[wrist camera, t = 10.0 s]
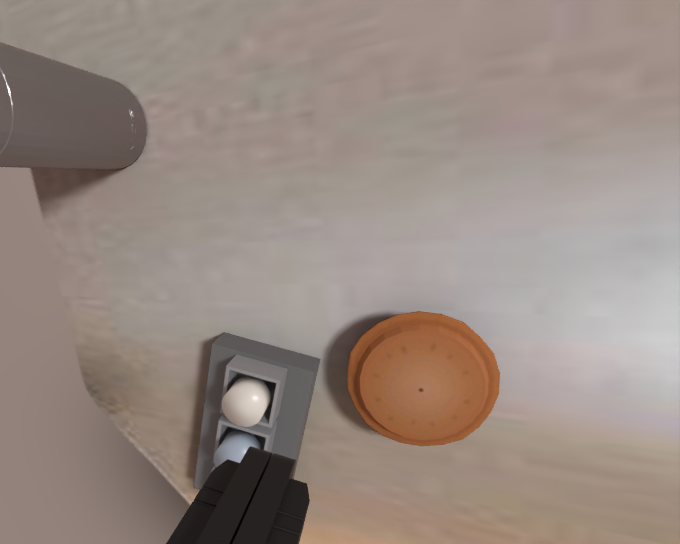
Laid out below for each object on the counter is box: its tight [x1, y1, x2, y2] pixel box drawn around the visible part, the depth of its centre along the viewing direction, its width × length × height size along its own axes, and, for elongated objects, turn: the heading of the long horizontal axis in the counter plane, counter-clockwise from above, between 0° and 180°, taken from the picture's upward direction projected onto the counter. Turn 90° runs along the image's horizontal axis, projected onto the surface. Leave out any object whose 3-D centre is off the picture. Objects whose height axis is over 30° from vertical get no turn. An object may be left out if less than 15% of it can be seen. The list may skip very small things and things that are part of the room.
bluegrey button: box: [214, 430, 261, 467], centre depth 40 cm, size 4×4×2 cm
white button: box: [222, 376, 271, 427], centre depth 38 cm, size 4×4×2 cm
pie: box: [347, 311, 500, 446], centre depth 39 cm, size 16×16×5 cm
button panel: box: [194, 333, 320, 490], centre depth 44 cm, size 12×21×6 cm, turn 168°
